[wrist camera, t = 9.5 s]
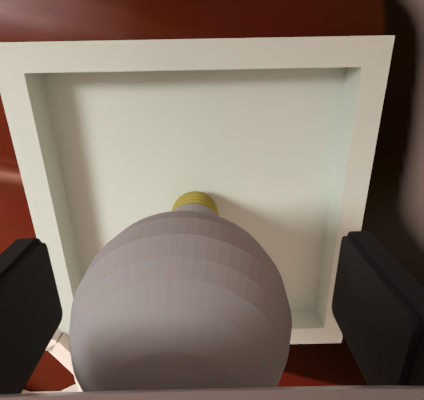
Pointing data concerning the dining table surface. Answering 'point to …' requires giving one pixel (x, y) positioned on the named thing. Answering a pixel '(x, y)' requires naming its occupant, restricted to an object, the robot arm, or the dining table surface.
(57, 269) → the tray
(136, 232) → the light bulb
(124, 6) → the dining table surface
